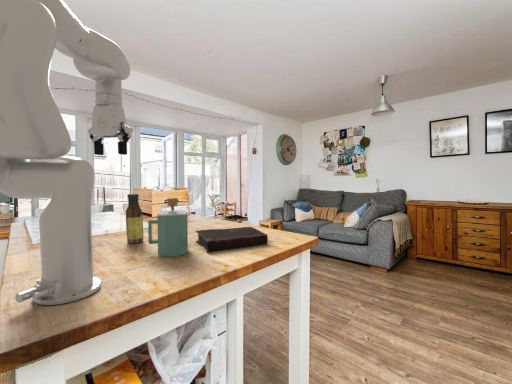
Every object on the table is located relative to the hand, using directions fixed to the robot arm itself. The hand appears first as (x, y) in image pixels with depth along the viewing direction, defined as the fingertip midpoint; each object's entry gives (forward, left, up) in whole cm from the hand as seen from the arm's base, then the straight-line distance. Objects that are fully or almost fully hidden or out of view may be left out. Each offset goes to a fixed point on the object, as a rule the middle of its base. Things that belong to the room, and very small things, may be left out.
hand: (110, 154), depth 83 cm
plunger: (+8, -18, -30) cm, 36 cm away
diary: (+26, -33, -35) cm, 55 cm away
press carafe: (+7, -17, -34) cm, 39 cm away
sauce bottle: (+16, +5, -34) cm, 38 cm away
